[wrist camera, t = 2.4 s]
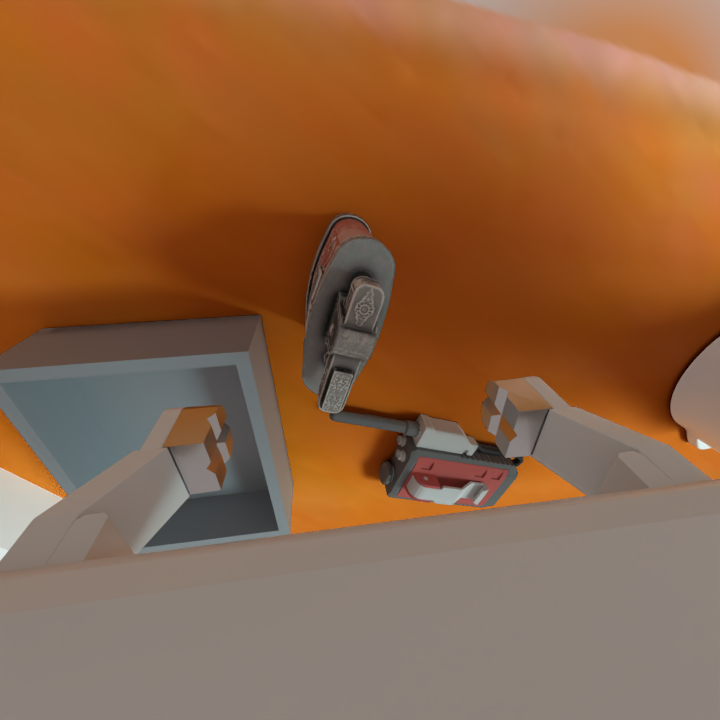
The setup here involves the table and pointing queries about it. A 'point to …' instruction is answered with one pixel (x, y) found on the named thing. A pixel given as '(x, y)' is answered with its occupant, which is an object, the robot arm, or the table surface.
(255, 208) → the table surface
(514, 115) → the table surface
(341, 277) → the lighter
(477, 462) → the walkie-talkie
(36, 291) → the table surface
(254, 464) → the grey tray
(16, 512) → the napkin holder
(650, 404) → the table surface
